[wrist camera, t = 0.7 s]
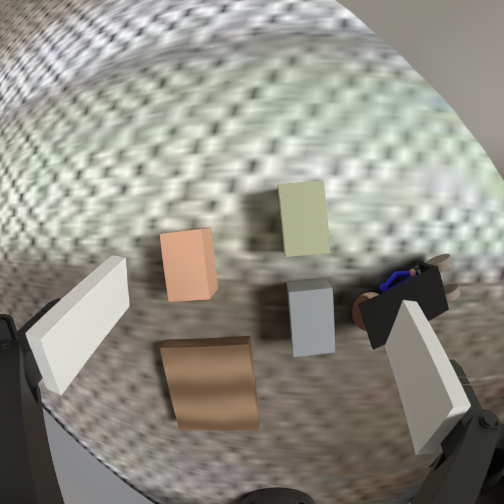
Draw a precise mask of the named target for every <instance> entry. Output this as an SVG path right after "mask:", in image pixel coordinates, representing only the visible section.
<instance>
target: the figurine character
mask: <svg viewBox="0 0 504 504" xmlns="http://www.w3.org/2000/svg"><path fill="white" fill-rule="evenodd" d="M418 265H419V269H418V270H416V271H415V270H414V269H411V270H410V271H395V272H394V273H393V274H392V275H391V277H390V278H389V279H388V280H387V281H386V283H385V284H384V283H382V284H380V290H381V291H382V292H383V293H381V294H377V293H373V292H369V293H364V294H362V295H361V296H359V297H358V298H357V299H356V300H355V302H354V304H353V307H352V317H353V320H354V322H355V324H356V325H357V326H358V327H359V328H360V329H362V330H365V331H367V333H368V336H369V339H370V343H371V346H372V348H373V349H376V348H378V347H380V346H383V345H385V344H386V342H387V340H388V337H389V335H390V332H391V330H392V327H393V325H394V322H395V320H396V317H397V315H398V312H399V309H400V307H401V304H402V301H403V300H406V301H414V302H417V303H418V305H419V307H420V308H421V310H422V312H423V313H424V315H425V317H426V319H427V320H428V321H430V320H432V319H433V318H435V317H437V316H439V315H440V314H442V313H444V312H445V311H447V310H449V308H448V302H451V301H453V300H455V299H456V298H458V297H459V295H460V292H459V288H458V285H457V284H448V285H445V286H443V283H442V279H441V275H440V272H441V271H444V270H446V269H448V268H449V267H450V266H451V265H452V261H451V257H450V255H449V254H443V255H439V256H436V257H434V258H432V259H430V260H429V261H427V262H426V263H423V262H421V263H419V264H418ZM420 273H421V274H420ZM397 276H410V277H409V278H407V279H406V280H404V281H402V282H400V283H398V284H397V285H395V286H393V287H391V288H389V289H388V287H389V286H390V285H391V283H392V282H393V281H394V280H395V279H396V277H397Z"/></svg>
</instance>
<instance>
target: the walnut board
mask: <svg viewBox="0 0 504 504" xmlns="http://www.w3.org/2000/svg"><path fill="white" fill-rule="evenodd" d="M160 352H161V356H162V361H163V366H164V370H165V375H166V379H167V383H168V388H169V392H170V396H171V400H172V404H173V408H174V412H175V415H176V419H177V423H178V427H179V430H258V429H259V421H260V417H259V408H258V400H257V392H256V383H255V375H254V366H253V358H252V349H251V341H250V336H242V337H226V338H207V339H182V340H166V341H165V342H164V343H163V344H162V346H161V347H160Z"/></svg>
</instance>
